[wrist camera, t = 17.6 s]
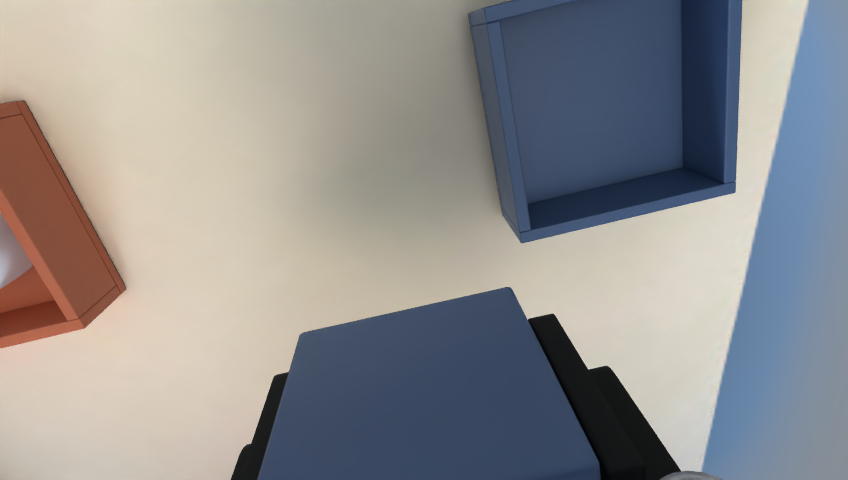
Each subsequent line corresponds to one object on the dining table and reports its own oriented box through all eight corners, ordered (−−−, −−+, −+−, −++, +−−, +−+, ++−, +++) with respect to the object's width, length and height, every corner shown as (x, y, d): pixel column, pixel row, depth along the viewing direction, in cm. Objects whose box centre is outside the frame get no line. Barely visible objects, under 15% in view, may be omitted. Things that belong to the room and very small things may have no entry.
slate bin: (467, 13, 23) (483, 7, 19) (685, -41, 23) (745, -58, 19) (502, 216, 27) (521, 244, 23) (686, 171, 27) (735, 192, 23)
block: (299, 331, 10) (234, 543, 6) (510, 284, 10) (602, 463, 6) (356, 482, 12) (339, 725, 8) (536, 442, 12) (619, 667, 7)
